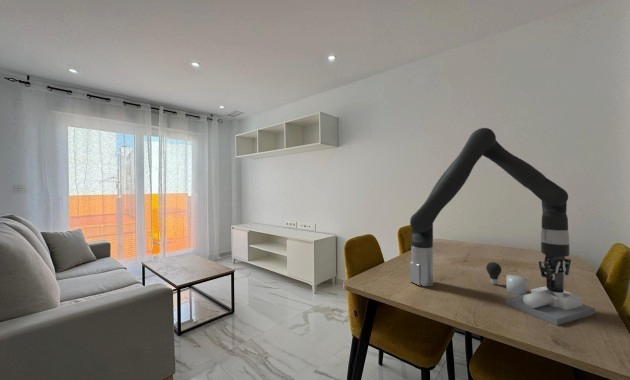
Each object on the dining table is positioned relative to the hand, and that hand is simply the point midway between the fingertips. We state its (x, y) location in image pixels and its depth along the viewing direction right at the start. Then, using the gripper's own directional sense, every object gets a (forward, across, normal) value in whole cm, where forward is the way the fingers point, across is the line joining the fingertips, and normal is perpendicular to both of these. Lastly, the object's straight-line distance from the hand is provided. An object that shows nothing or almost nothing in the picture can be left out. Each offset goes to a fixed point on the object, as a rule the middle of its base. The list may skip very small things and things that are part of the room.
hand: (555, 287), depth 93 cm
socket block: (+7, -4, 0) cm, 8 cm away
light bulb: (+7, 0, +23) cm, 24 cm away
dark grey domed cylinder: (+1, 0, 0) cm, 1 cm away
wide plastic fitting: (+7, +1, +14) cm, 16 cm away
